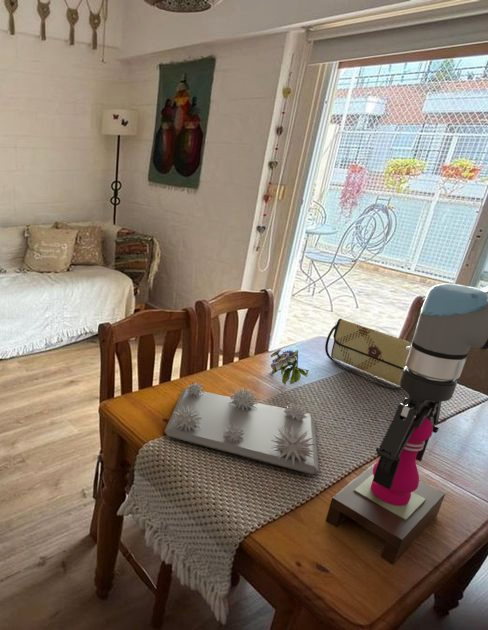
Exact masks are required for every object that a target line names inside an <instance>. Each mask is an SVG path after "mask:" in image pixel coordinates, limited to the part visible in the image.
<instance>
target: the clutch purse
mask: <svg viewBox="0 0 488 630" xmlns="http://www.w3.org/2000/svg"><path fill="white" fill-rule="evenodd" d="M332 334H333V343H332V348H331V354H329V342H330V339H331V337H332ZM411 343H412V341H408V340H405V339H403V338H399V337H396V336H393V335H390V334H387V333H385V332H381V331H378V330H375V329H372V328H371V327H366V326H363V325H360V324H357V323H355V322H351V321H349V320H346V319H343V318H339V319H338V320H337V321H336V322H335V324H334V326H333V327H332V328H331V330H330V331H329V333H328V335H327V337H326V340H325V344H324V350H325V354H326V356H327V357H328V359H329V360H330V361H331V362H333V363H334V364H335V365H337V366H338V367H340V368H341V369H343V370H345V371H347V372H349V373H350V374H353V375H355V376H356V377H358V376H360V377H363V378H365V379H367V380H370V381H372V382H373V383H372V382H371V383H372V384H374V383H375V384H374V385H377V386H380V387H383V388H386V389H390V390H399V389H400V390H402V388H401V387H400V385H399V381H400V378H401V375H402V372H403V368H404V367H406V360H407V357H408V355H409V352H407V351H406V348H407V347H411ZM337 361H339V362H341V363H344V364H347V365H349V366H351V367H353V368H356V369H358V370H361V371H363V372H365V373H368V374H370V375H373V376H375V377H378V378H380V379H382V380H385V381H387V382H390V383H392V384H394V385H397V386H399V387H392V386H388V385H386V384H382V383H380V382H377V381H374V380H371V379H370V378H367V377H365V376H363V375H361V374H359V373H357V372H354V371H353V370H351V369H349V368H347V367H345V366H344V365H342V364H341V363H339V362H337ZM360 377H359V378H360ZM365 379H364V380H365ZM367 380H366V381H367Z"/></svg>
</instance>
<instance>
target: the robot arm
mask: <svg viewBox="0 0 488 630" xmlns="http://www.w3.org/2000/svg"><path fill="white" fill-rule="evenodd" d="M471 348H473V349H479V350H483V351H488V285H487V286H485V287H483V288H482V289H481V288H477V287H474V286H466V285H463V284H457V283H439V284H436V285H433V286H432V287H430V288H429V290H428V292H427V294H426V297H425V299H424V302H423V304H422V306H421V308H420V313H419V316H418V319H417V323H416V327H415V330H414V334H413V337H412V340H411V347H407V348H406V351H407V352H409V355H408V357H407V360H406V367H404V368H403V372H402V375H401V378H400V381H399V385H400V386H399V385H398V386H399V387H401V390H402V391H405V392H406V393H407V395H408V397H405V398H404V399H403V401H402V403H399V404H397V406H396V411H395V414H394V416H393V418H392V420H391V422H390V424H389V427H388V428H387V431H386V433H385V435H384V436H383V439H382V440H381V443H380V445H379V447H376V449H375V452H376V455H378V456H379V459H378V460H379V462H378V466H377V469H376V472H375V475H374V478H373V481H374V482H376V483H378V484H380V485H382V486H384V487H385V488H387V489H390V488H391V486H392V483H393V480H394V477H395V474H396V471H397V468H398V465H399V462H400V458H399V456H400V454H401V453H402V451H403V449H404V447H405V446H406V444H407V442H408V440H409V438H410V437H411V435H412V433H413V431H414V430H415V429H418V428H420V426H421V425H422V423H423V421H424V419H425V418H428V419H429V420H430V422H431V423H432V426H433V432H432V433H434V434H437V433H438V431H439V426H437V425H438V424H439V420H440V413H441V407H442V402H443V403H444V402H447V401H449V400H452V399H453V395H454V392H455V390H456V387H457V384H458V380H457V379H459V378H461V375H462V372H463V370H464V367H465V363H466V361H467V359H468V358H467V357H468V354H469V351H470V349H471ZM414 421H416V422H414ZM429 440H430V438H429V439H427V440H425V445H424V446H423V449H422V450H421V451H418V453H417V456H416V461H418V462H421V461H422V460H423V457H424V455H425V452H426V449H427V446H428V444H429Z"/></svg>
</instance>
